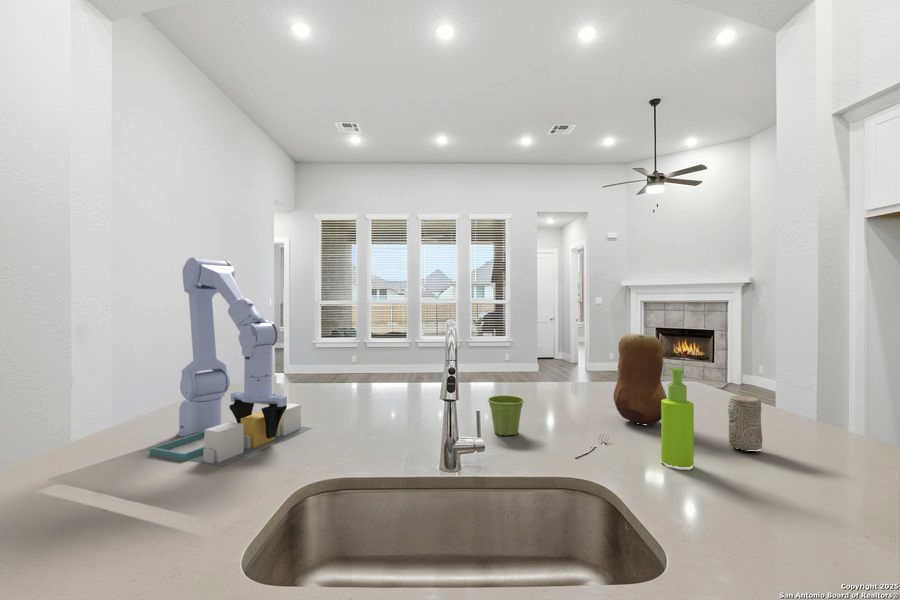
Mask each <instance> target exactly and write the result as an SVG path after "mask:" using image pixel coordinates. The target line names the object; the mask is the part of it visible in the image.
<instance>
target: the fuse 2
mask: <svg viewBox="0 0 900 600" xmlns="http://www.w3.org/2000/svg"><path fill="white" fill-rule="evenodd" d="M279 425H280V435H286V434H289V433H291V432H294V431H296V430H299V429H301V426H302V405H301V404H298V403H288V402H287V408H286V410H285V411H284V413H283V415H282V417H281V419H280V422H279Z"/></svg>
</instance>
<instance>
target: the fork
mask: <svg viewBox="0 0 900 600" xmlns="http://www.w3.org/2000/svg"><path fill="white" fill-rule="evenodd" d="M601 435H602V436H601ZM604 436H605V437H604ZM606 438H607V434H606V435H605V434H602V433H600V434H599V436H598V438H597V440H599V442H600V441H601V442H603V441H604V442H605V443H606V442H607V443H608V442H609V440H610V439H609V438H610V434H609V435H608V438H607V439H606Z"/></svg>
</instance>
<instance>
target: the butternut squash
mask: <svg viewBox="0 0 900 600" xmlns="http://www.w3.org/2000/svg"><path fill="white" fill-rule="evenodd" d="M617 347H618V354H619V356H618V363H617V371H618V373H617V381H616V384H615V386H614V387H615V388H614V390H613V401H614V404H615V407H616V410H617V412H618V413H619V415H620V416H621V417H622V418H623V419H625V420H628V421H629V422H630V421H631V422H633V423H634V422H635V423H634V424H636V423H639V424H647V425H648V426H649V425H654V424H655V425H656V424H657V423H659V422H660V421H661V400H663V399H668V396H667V395H666V394H667V393H666V391H665V389H664V386H663V384H662V383H663V382H662V381H661V378H662V377H661V376H662V373H663V367H664V356H663V346H662V342H661V340H660V339H659V338H657V337H656V336H654V335H649V334H641V333H633V332H632V333H630V332H629V333H626V334H624V335H622V337H621V338H620V340H619V342H618V346H617Z"/></svg>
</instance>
